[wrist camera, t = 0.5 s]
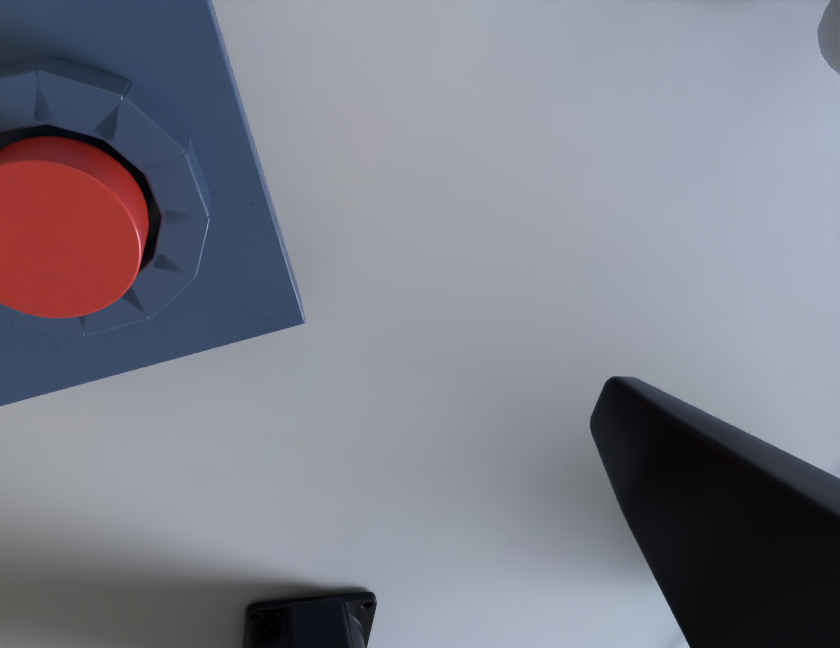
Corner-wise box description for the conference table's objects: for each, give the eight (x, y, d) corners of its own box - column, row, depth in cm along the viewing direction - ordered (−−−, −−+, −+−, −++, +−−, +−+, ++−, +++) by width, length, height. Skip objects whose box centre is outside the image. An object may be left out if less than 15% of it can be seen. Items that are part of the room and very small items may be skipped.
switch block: (299, 293, 24) (312, 352, 20) (16, 368, 22) (-19, 445, 19) (184, -91, 17) (175, -96, 14) (-228, -17, 16) (-346, -3, 12)
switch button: (171, 260, 18) (166, 295, 16) (23, 298, 18) (2, 337, 16) (112, 118, 16) (99, 140, 14) (-59, 156, 15) (-94, 184, 14)
